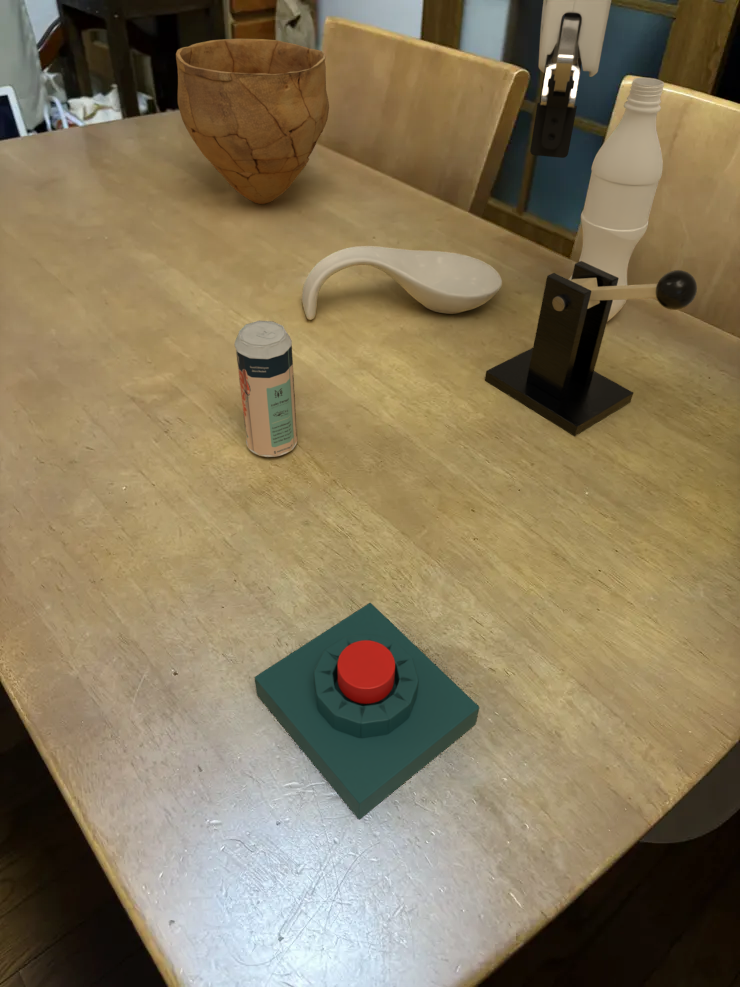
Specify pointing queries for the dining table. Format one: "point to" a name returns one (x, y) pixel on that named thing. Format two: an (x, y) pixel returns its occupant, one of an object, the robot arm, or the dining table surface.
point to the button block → (366, 711)
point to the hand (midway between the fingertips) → (551, 137)
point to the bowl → (253, 109)
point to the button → (366, 672)
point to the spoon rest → (414, 276)
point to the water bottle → (623, 185)
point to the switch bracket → (565, 357)
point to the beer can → (267, 388)
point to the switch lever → (647, 290)
